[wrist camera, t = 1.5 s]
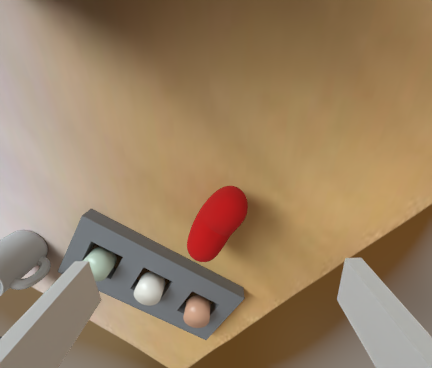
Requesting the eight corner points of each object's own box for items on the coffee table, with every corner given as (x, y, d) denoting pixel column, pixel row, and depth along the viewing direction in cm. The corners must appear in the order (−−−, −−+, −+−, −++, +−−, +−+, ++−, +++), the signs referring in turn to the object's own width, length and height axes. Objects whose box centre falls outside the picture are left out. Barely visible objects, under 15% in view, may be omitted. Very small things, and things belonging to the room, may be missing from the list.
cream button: (136, 284, 40) (129, 298, 37) (146, 268, 39) (140, 280, 36) (158, 295, 41) (153, 309, 38) (169, 279, 39) (165, 292, 37)
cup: (15, 222, 39) (-44, 254, 30) (67, 246, 40) (26, 283, 32) (7, 249, 41) (-49, 287, 33) (57, 271, 42) (16, 312, 34)
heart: (213, 235, 38) (209, 277, 28) (187, 220, 37) (174, 259, 28) (251, 183, 34) (261, 212, 25) (222, 165, 33) (221, 189, 24)
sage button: (86, 261, 39) (75, 273, 36) (95, 242, 37) (85, 254, 34) (110, 272, 39) (102, 285, 37) (120, 255, 38) (112, 267, 35)
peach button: (181, 306, 42) (178, 321, 39) (193, 291, 40) (191, 305, 37) (202, 316, 42) (201, 331, 40) (215, 302, 41) (214, 316, 38)
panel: (67, 262, 41) (57, 271, 39) (91, 208, 37) (82, 215, 35) (207, 328, 46) (206, 340, 44) (243, 287, 42) (244, 298, 39)
